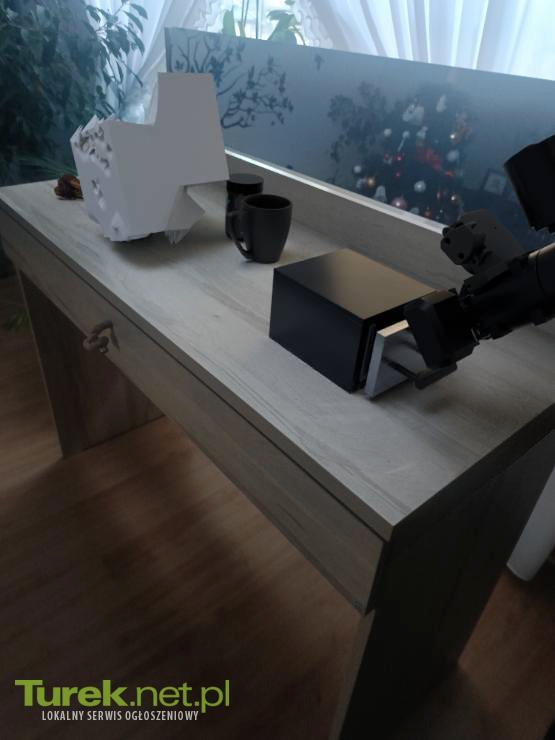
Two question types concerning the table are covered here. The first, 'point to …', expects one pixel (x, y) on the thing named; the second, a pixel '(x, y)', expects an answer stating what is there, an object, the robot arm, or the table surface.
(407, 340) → the drawer
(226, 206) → the supplement container
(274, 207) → the mug
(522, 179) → the robot arm
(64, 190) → the brown lumpy mound
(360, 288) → the cabinet
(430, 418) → the table surface
